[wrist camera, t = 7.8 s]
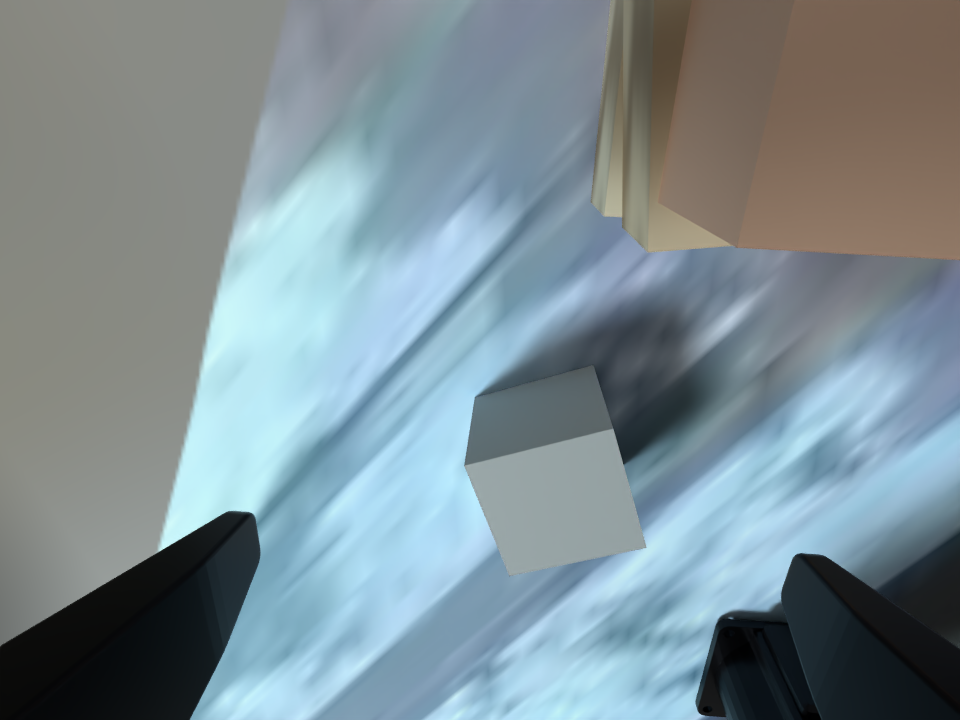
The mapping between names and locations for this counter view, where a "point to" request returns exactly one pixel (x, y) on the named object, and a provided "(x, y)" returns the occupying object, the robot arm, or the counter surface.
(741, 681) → the robot arm
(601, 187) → the olive tan squat block
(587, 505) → the grey block
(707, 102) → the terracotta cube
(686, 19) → the beige squat block
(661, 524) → the counter surface
